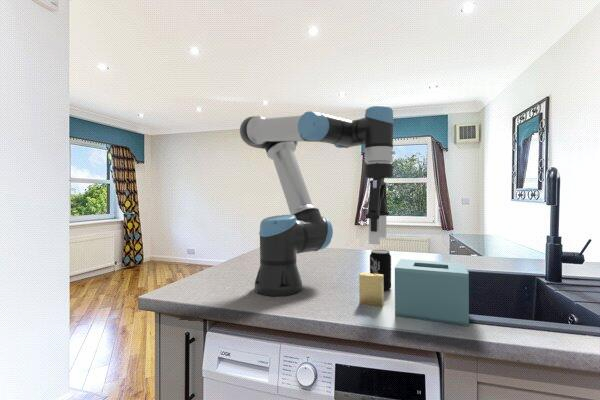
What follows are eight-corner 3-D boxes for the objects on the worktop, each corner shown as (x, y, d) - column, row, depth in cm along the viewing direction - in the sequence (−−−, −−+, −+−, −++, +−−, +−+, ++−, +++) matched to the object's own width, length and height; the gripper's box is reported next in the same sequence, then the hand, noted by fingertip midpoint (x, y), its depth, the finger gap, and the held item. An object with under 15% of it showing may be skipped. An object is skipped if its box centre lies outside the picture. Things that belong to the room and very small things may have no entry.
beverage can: (392, 292, 95) (391, 253, 95) (370, 291, 97) (370, 252, 96) (390, 286, 102) (390, 249, 102) (369, 285, 103) (369, 249, 103)
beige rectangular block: (359, 304, 85) (359, 274, 85) (361, 300, 88) (361, 272, 88) (381, 307, 82) (381, 276, 82) (383, 303, 85) (383, 274, 85)
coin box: (394, 315, 76) (394, 267, 76) (400, 300, 87) (400, 258, 87) (468, 326, 70) (468, 273, 69) (465, 308, 80) (464, 263, 80)
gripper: (387, 158, 73) (386, 248, 73) (397, 167, 96) (396, 235, 96) (355, 159, 75) (355, 246, 76) (372, 168, 99) (371, 234, 99)
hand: (378, 240), depth 86 cm, fingers open, 13 cm apart
